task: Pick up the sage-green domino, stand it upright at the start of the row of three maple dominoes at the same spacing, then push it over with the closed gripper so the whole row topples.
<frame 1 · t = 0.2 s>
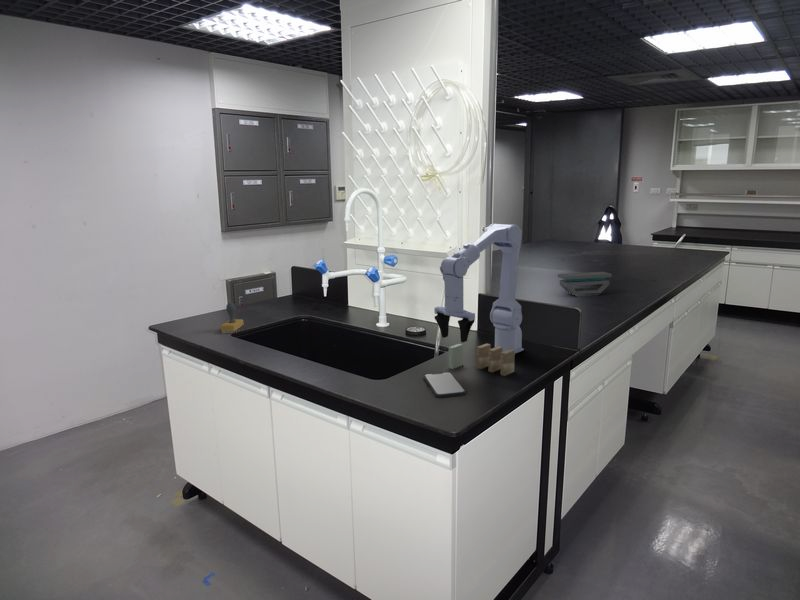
hand: (454, 339, 162), 10 cm above the countertop, tool pointing down, fingers open, 7 cm apart
domino maple 2: (495, 369, 164), on the countertop
domino maple 3: (507, 373, 160), on the countertop
domino maple 1: (483, 366, 167), on the countertop
rubber stamp: (233, 331, 218), on the countertop
domino sage: (455, 366, 167), on the countertop
phone case: (443, 388, 152), on the countertop
sharpening stone: (583, 295, 268), on the countertop
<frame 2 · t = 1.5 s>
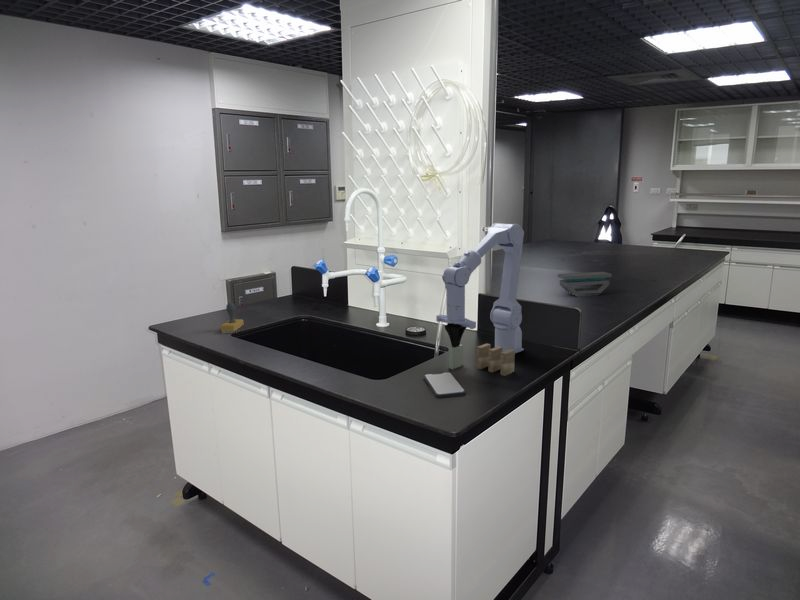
hand: (455, 346, 166), 7 cm above the countertop, tool pointing down, fingers closed, pressing on domino sage
domino sage: (455, 367, 167), on the countertop, touching gripper
everything else where it was.
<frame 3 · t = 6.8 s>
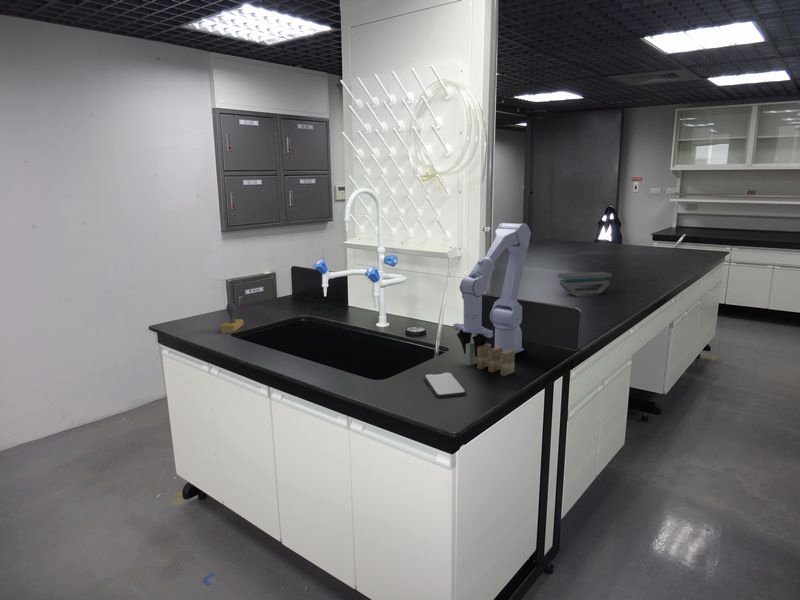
hand: (472, 354, 169), 3 cm above the countertop, tool pointing down, fingers open, 4 cm apart
domino maple 1: (483, 366, 167), on the countertop, touching gripper
domino sage: (472, 363, 170), on the countertop
everything else where it was.
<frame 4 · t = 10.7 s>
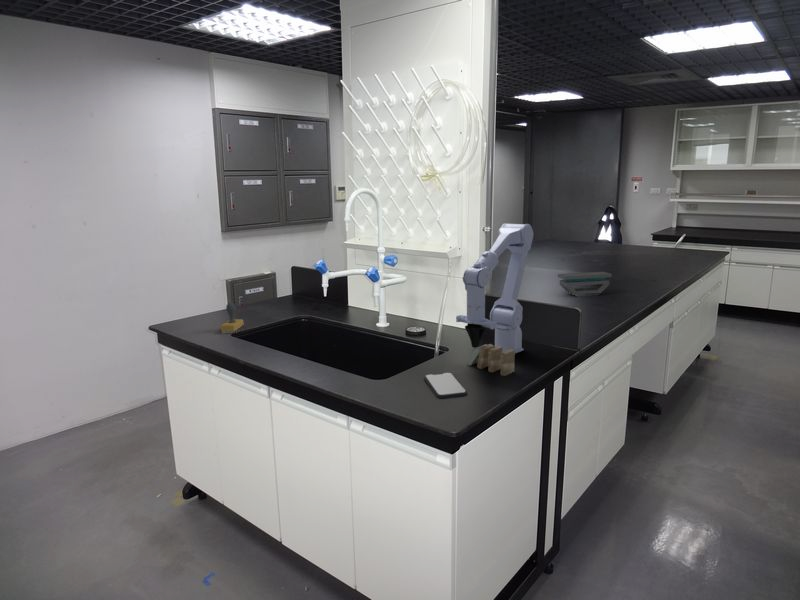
hand: (475, 346, 168), 6 cm above the countertop, tool pointing down, fingers closed
domino maple 1: (483, 366, 167), on the countertop, tilted 12°, touching domino sage
domino sage: (473, 362, 170), on the countertop, tilted 35°, touching domino maple 1
everything else where it was.
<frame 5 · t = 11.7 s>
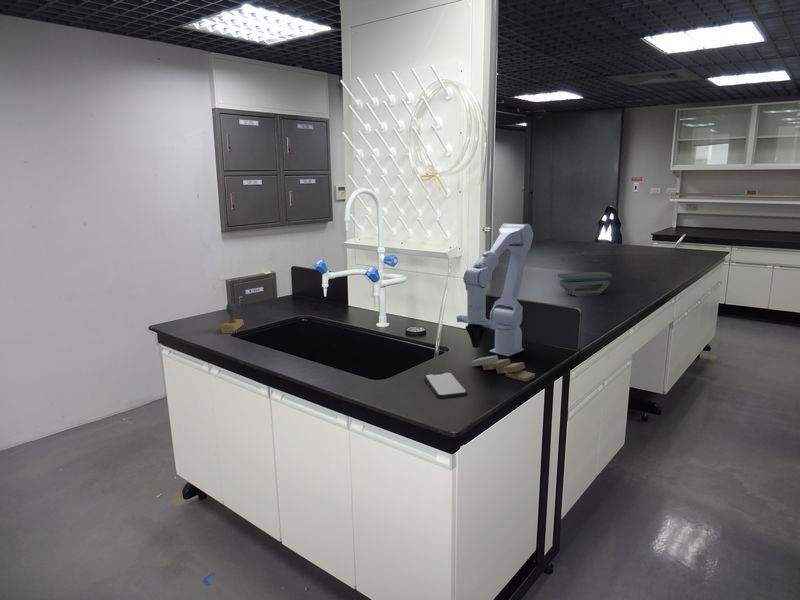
hand: (476, 346, 168), 6 cm above the countertop, tool pointing down, fingers closed
domino maple 2: (501, 368, 162), point 1 cm above the countertop, tilted 72°
domino maple 3: (510, 373, 160), on the countertop, tilted 90°
domino maple 1: (487, 365, 165), point 1 cm above the countertop, tilted 71°, touching domino sage
domino sage: (476, 362, 169), point 1 cm above the countertop, tilted 70°, touching domino maple 1
everything else where it was.
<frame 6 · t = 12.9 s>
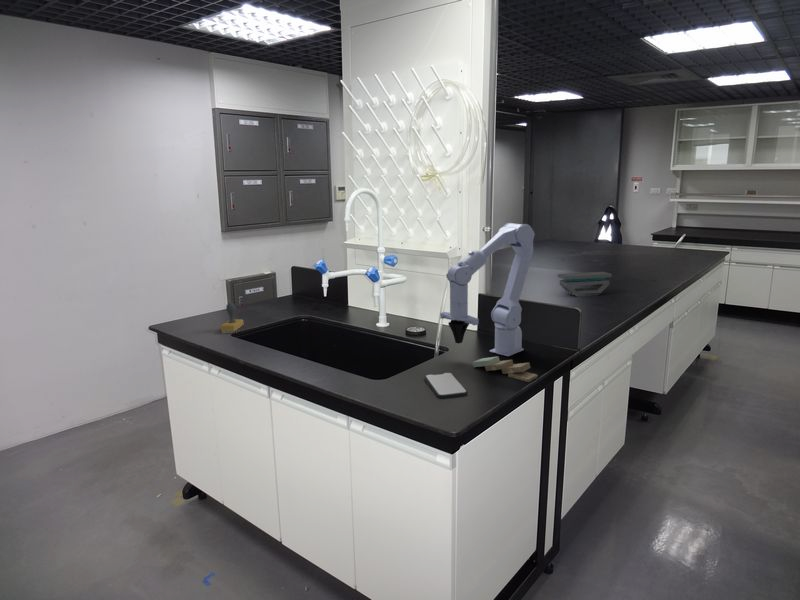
hand: (458, 342, 173), 6 cm above the countertop, tool pointing down, fingers closed
domino maple 2: (505, 369, 161), point 1 cm above the countertop, tilted 73°, touching domino maple 1
domino maple 1: (489, 366, 165), point 1 cm above the countertop, tilted 72°, touching domino maple 2, domino sage
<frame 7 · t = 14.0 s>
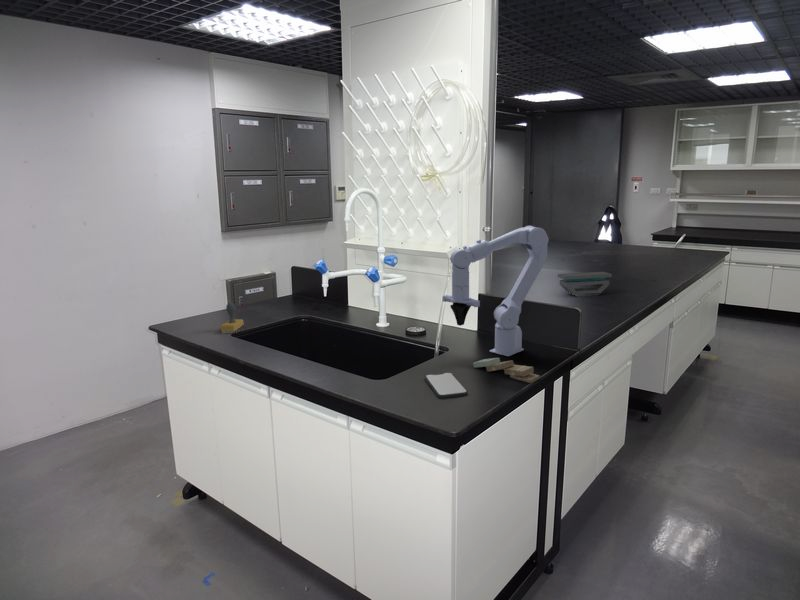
hand: (460, 324, 177), 10 cm above the countertop, tool pointing down, fingers closed
domino maple 2: (509, 369, 159), point 1 cm above the countertop, tilted 82°
domino maple 1: (492, 367, 163), point 1 cm above the countertop, tilted 67°
domino sage: (478, 363, 168), point 1 cm above the countertop, tilted 71°
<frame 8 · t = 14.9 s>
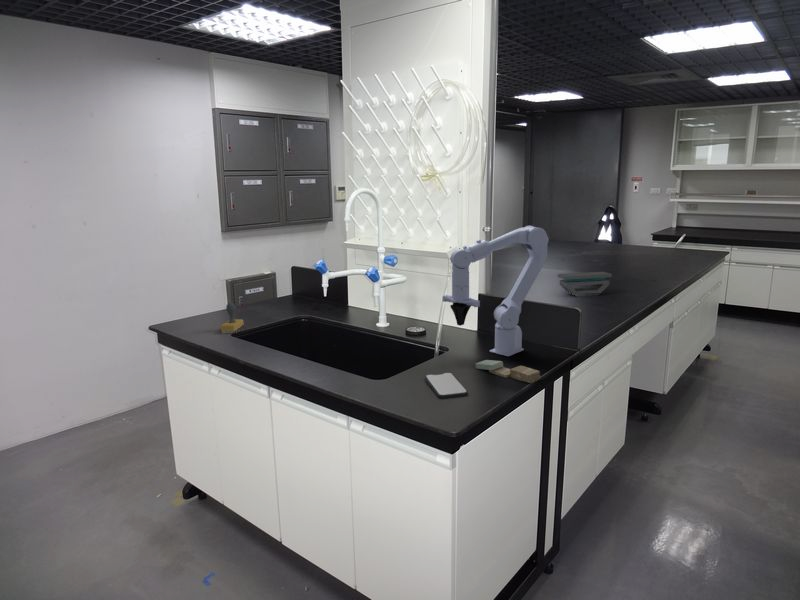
hand: (460, 324, 177), 10 cm above the countertop, tool pointing down, fingers closed
domino maple 2: (515, 369, 158), point 2 cm above the countertop, tilted 90°, touching domino maple 3
domino maple 3: (515, 375, 158), on the countertop, tilted 90°, touching domino maple 2
domino maple 1: (494, 370, 163), on the countertop, tilted 90°, touching domino sage
domino sage: (481, 364, 167), point 1 cm above the countertop, tilted 80°, touching domino maple 1
everything else where it was.
at the end: domino maple 3 tilted 90°; domino maple 1 tilted 90°; domino sage inside the target area (3.2 cm from its centre), point 0.7 cm above the countertop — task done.
